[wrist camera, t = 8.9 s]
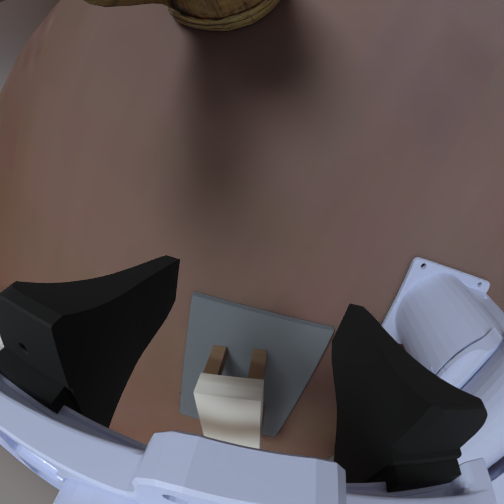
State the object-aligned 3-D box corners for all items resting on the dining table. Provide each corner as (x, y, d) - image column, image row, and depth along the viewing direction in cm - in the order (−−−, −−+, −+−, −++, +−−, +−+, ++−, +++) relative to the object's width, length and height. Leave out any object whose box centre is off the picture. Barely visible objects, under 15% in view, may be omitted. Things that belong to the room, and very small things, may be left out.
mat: (194, 291, 24) (192, 294, 23) (333, 326, 23) (334, 331, 23) (180, 409, 31) (179, 413, 30) (275, 433, 30) (275, 437, 30)
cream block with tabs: (265, 413, 28) (258, 458, 23) (220, 408, 29) (208, 451, 23) (268, 348, 24) (260, 401, 19) (212, 343, 25) (193, 392, 19)
